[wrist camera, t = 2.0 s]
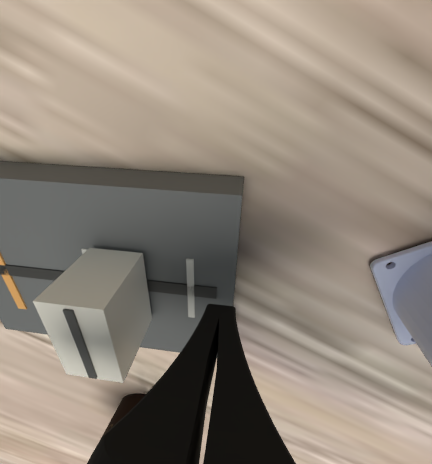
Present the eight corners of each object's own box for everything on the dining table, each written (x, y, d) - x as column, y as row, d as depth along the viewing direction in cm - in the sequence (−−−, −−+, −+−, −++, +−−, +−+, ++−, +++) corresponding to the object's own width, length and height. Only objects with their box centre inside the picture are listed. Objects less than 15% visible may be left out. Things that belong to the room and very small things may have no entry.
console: (244, 176, 14) (242, 196, 11) (231, 324, 20) (228, 360, 17) (-28, 159, 15) (-88, 172, 13) (35, 300, 21) (4, 329, 19)
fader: (142, 253, 13) (101, 311, 9) (152, 318, 15) (122, 384, 12) (89, 247, 13) (30, 303, 10) (107, 313, 16) (65, 376, 12)
